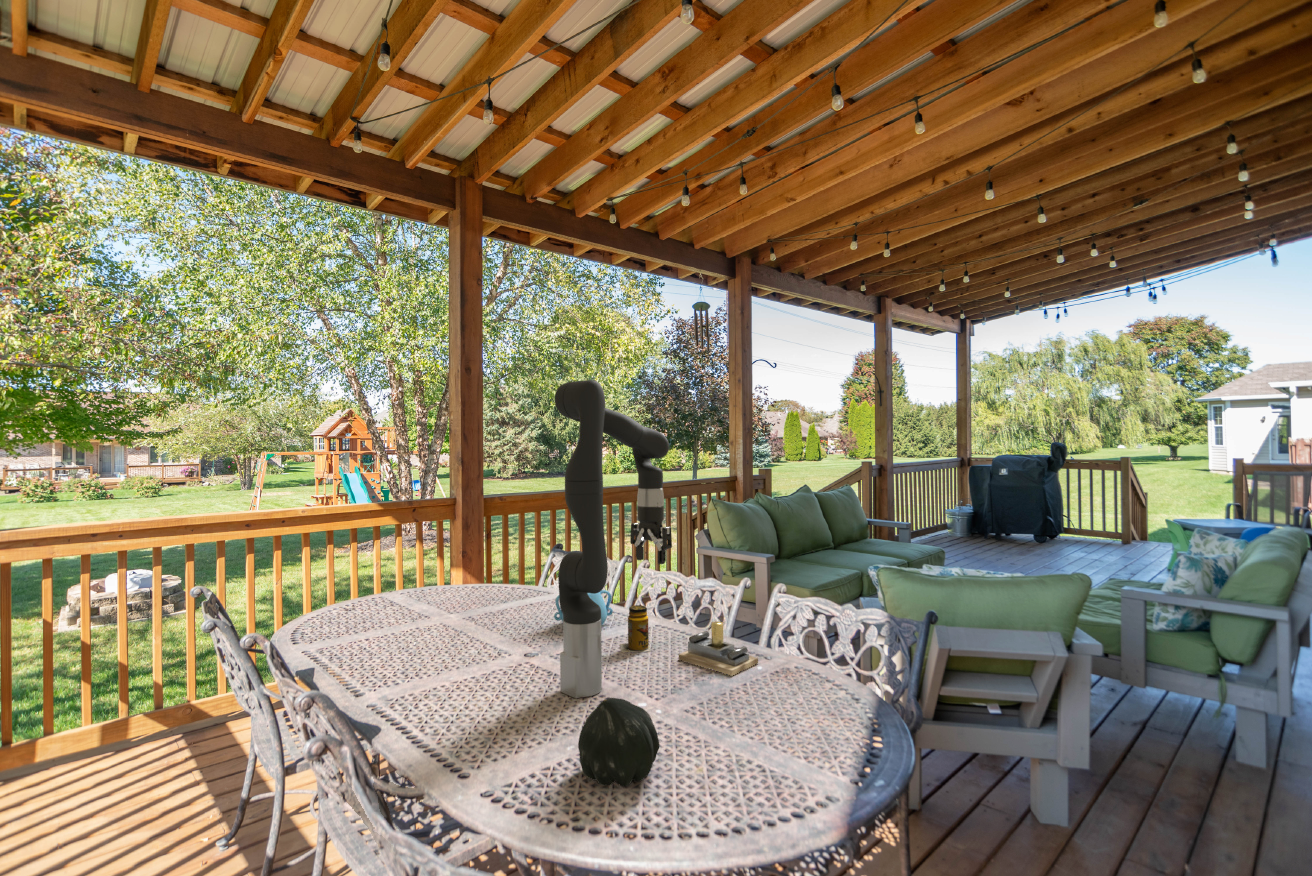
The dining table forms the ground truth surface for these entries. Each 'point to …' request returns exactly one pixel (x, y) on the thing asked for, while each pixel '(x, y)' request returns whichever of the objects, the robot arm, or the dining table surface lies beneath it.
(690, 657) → the clamp block fixture
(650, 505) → the robot arm
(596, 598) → the decorative pot
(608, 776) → the squash
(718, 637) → the brass pin
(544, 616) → the dining table surface
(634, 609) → the condiment
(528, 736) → the dining table surface
